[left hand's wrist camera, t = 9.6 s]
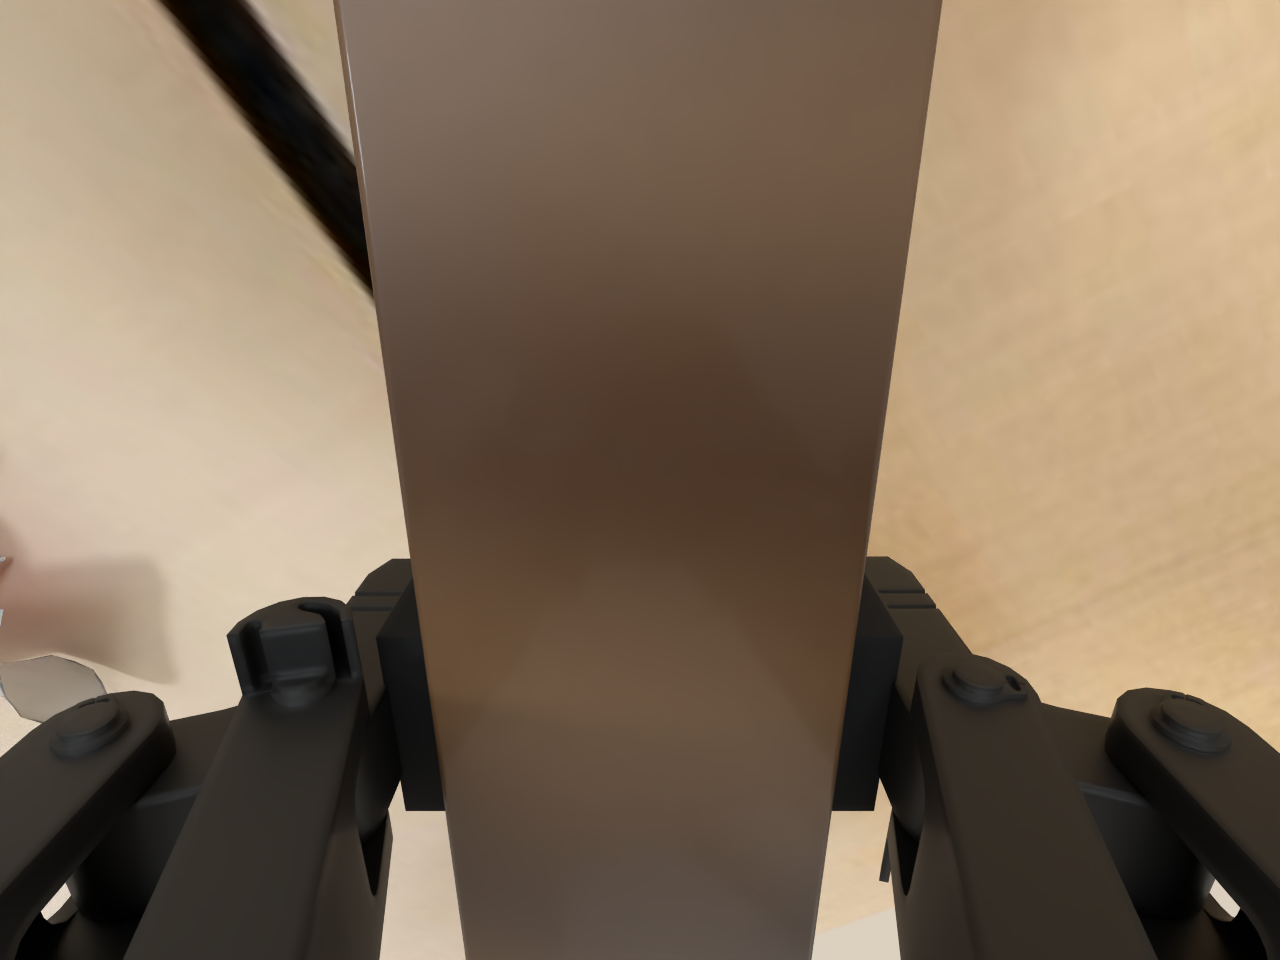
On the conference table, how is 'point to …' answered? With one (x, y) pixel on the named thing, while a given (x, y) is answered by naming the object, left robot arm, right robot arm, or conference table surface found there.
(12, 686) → the fish
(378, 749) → the left robot arm
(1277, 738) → the conference table surface
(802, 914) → the bar
